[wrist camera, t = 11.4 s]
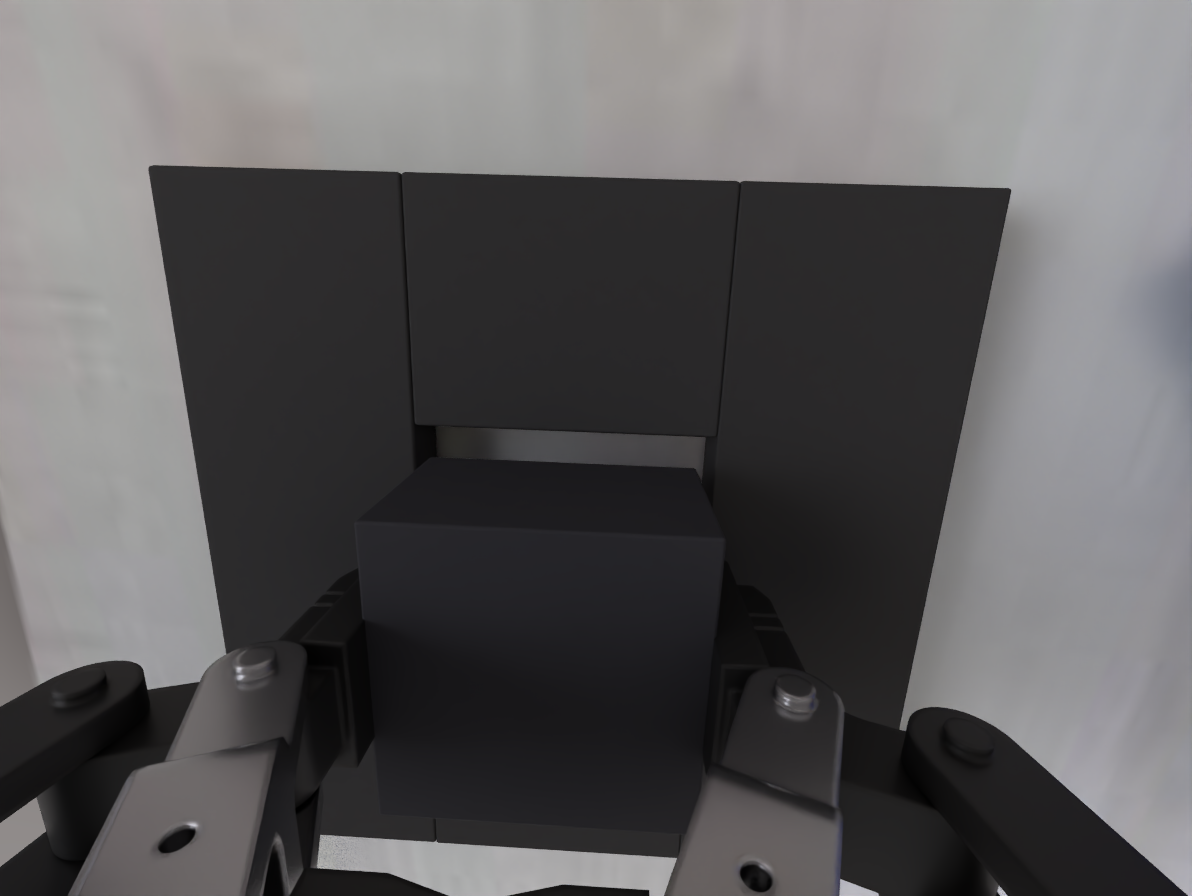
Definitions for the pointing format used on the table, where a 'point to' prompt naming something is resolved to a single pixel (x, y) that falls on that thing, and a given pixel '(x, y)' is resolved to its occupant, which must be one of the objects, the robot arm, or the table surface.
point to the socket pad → (582, 385)
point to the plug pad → (541, 642)
